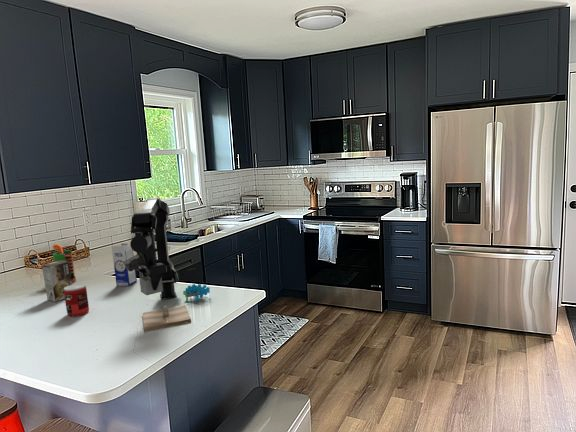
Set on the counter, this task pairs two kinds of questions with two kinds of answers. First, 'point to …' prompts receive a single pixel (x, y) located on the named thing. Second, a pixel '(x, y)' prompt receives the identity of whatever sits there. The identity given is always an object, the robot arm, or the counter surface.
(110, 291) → the counter surface
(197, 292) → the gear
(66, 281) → the coffee box
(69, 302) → the canned food
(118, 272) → the milk carton
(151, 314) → the plate
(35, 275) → the counter surface
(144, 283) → the grey box with handle
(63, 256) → the multicoloured piece
